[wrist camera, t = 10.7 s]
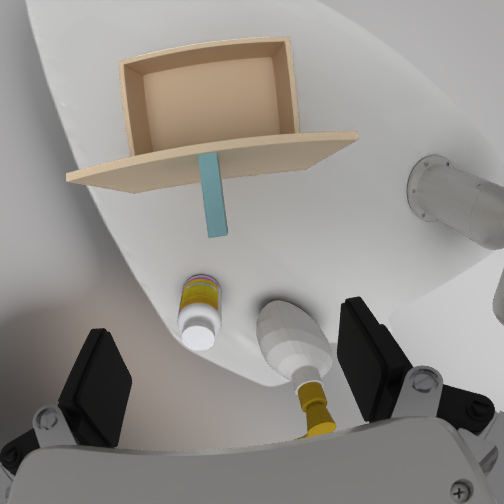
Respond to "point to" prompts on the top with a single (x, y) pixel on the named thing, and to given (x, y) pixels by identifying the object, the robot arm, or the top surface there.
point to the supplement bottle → (200, 312)
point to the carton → (209, 93)
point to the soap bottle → (298, 358)
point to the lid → (214, 166)
